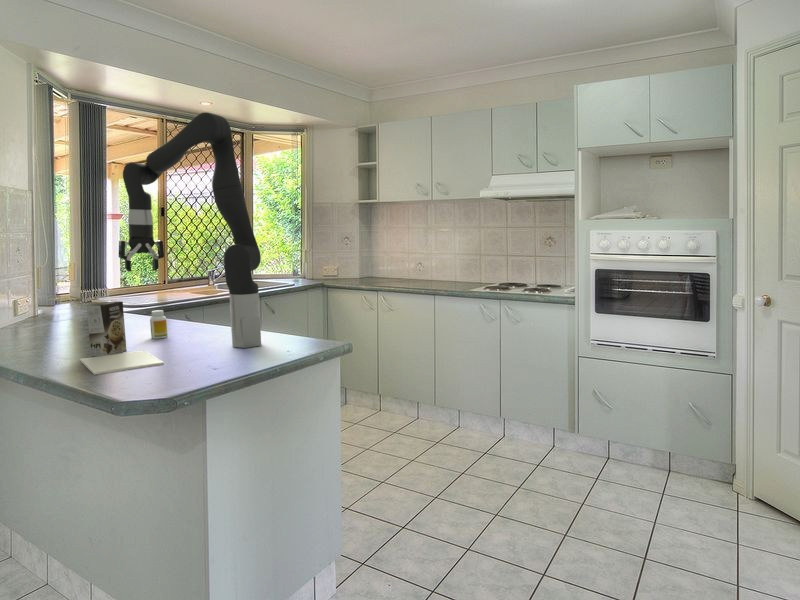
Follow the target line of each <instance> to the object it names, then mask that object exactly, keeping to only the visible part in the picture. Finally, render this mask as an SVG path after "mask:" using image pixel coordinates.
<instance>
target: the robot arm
mask: <svg viewBox="0 0 800 600" xmlns="http://www.w3.org/2000/svg"><path fill="white" fill-rule="evenodd" d="M232 134H233V133H232V128H231V125H230V123H229V121H228V120H227V119H226V118H225V117H224V116H222V115H218V114H215V113H211V112H207V111H206V112H204V111H203V112H200V113H199V114H197V115H196V116H195V117H193V118H192V120H190V122H188V123H187V125H185V126H184V127H183V128H182V129H181V130H180V131H179V132H178V133H177V134H175V136H173V137H172V138H171V139H170V140H169V141H166V143H164V144H162V145H161V146H160V147H158V148H156V149H154V150H153V151H151V152H150V153H148V155H147V156H146V160H145V161H146V162H144V163H141V162H140V163H139V162H128V163H126V164H125V166H124V167H123V170H122V179H123V183H124V186H125V190H126V193H127V196H128V220H127V221H128V237H129V238H128V240H121V239H120V240H119V241H118V258H119V259H123V260H124V268H125V270H126V271H127V272H130V273H131V272H132V258H133V257H134V256H135V255H136V254H149V256H151V257H152V271H154V272H155V271H156V272H157V271H158V269H159V267H160V266H159V260H161V259H163V258H164V257H165V251H164V250H165V249H164V241H162V240H159V239H158V240H154V222H153V221H154V220H153V218H154V217H153V212H152V211H153V209H152V207H153V206H152V195H151V194H150V193H149V192H146V191H145V190H144V186H147V185H150V184H153V183H155V182H156V181H157V180H158V179H159V178H160V177H161V176H162V175H163V173H164V172H166V171H167V170H169V169H171V168H172V167H174V166H176V165H177V164H178V163H179V162H181V160H182V159H183V158H184V156H185V155H186V153H187V152H188V151H189V150H190V149H192V148H193V147H195V146H197V145H200V144H203V143H207V144H210V147H211V150H212V154H213V158H214V168H213V169H214V170H213V174H212V180H211V189H212V192H213V198H214V201H215V204H216V208H217V209H218V212H219V213H220V215H221V216H222V218H223V220H224V221H225V223H226V224H227V226H228V227H229V229H230V231H231V232H230V233H231V235H232V238H233V244H231V245H229V246H228V247H227V248H226V249H225V252H224V256H223V266H224V267H223V268H224V275H225V276H224V277H225V283H226V284H225V285H226V286H227V288H228V294H229V295H228V296H229V311H230V312H229V313H230V325H231V326H230V328H231V331H230V332H231V342H232V343H231V345H232V347H233V348H242V349H246V348H247V349H248V348H254V347H260V346H261V347H262V333H261V319H260V318H261V313H260V311H261V310H260V295H259V285H258V284H257V282H255V281H254V280H253V278H252V272H254V271H256V270H257V269H258V267H260V265H261V260H262V259H261V258H262V256H261V250H260V248H259V246H258V242H257V240H256V236H255V234H254V230H253V228H252V225H251V219H250V215H249V211H248V207H247V203H246V199H245V195H244V189H243V185H242V180H241V178H240V174H239V169H238V165H237V160H236V156H235V149H234V141H233V140H234V139H233V135H232ZM127 246H129V250H128V251H127V253H126V247H127ZM154 246H155V247H156V248H157V252H156V251H155V250H154V249H153V247H154Z"/></svg>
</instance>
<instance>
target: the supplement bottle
mask: <svg viewBox="0 0 800 600" xmlns="http://www.w3.org/2000/svg"><path fill="white" fill-rule="evenodd" d="M164 314H165V313H164V310H163V309H157V310H152V311H151V317H150V318H149V323H150V324H149V325H150V338H151V339H154V340H155V339H165V338H167V337H168V326H167V325H168V324H167V317H166V316H165V315H164Z"/></svg>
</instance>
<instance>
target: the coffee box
mask: <svg viewBox="0 0 800 600" xmlns="http://www.w3.org/2000/svg"><path fill="white" fill-rule="evenodd" d="M86 310H87V324H88V325H87V326H88V338H89V348H90V349H89V350H90V357H98V356H106V355H113V354H120V353H125V352H127V350H128V349H127V340H126V338H127V337H126V327H125V313H124V302H123V301H104V302H97V303H92V304H87V305H86Z"/></svg>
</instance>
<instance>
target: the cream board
mask: <svg viewBox="0 0 800 600" xmlns="http://www.w3.org/2000/svg"><path fill="white" fill-rule="evenodd" d="M79 360H80V361H79V362H80V363H81V364H83V365H84V366H85V367H86V368H87V369H88V370H89V371H90V372H91V373H92V375H94V376H95V375H102V374H108V373H115V372H121V371H127V370H135V369H141V368H147V367H153V366H155V367H156V366H162V365H164V364H165V363H164V361H162V360H161V359H160V358H158V357H156V356H154V355H152V354H151V353H149V352H147V351H146V350H136V351H129V352H121V353H118V354H113V355H106V356H90V357H86V358H85V357H84V358H79Z"/></svg>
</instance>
